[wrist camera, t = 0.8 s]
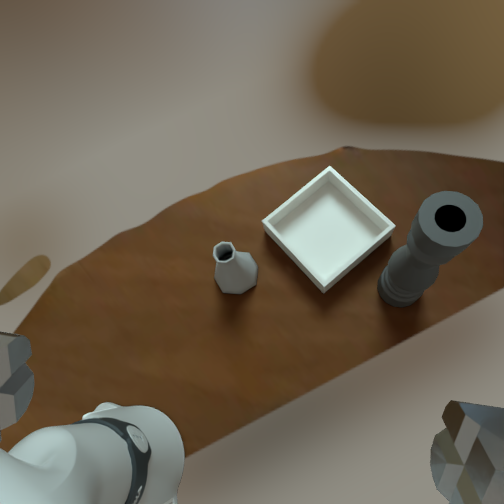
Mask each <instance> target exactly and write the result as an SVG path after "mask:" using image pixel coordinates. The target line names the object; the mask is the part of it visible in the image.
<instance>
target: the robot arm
mask: <svg viewBox="0 0 504 504" xmlns="http://www.w3.org/2000/svg"><path fill="white" fill-rule="evenodd" d="M31 355H32V353H31V347H30V340H29V339H27V338H26V337H25V336H23V335H18V334H12V333H6V332H0V441H1V430H2V429H4V428H6V427H8V426H10V425H12V424H14V423H16V422H17V421H18V420H19V419H20V417H21V416H22V415H23V414H24V412H25V411H26V409H27V407H28V405H29V402H30V400H31V398H32V395H33V389H34V374H33V372H32V371H31V370H30V368H29V367H28V366H27V365H26V363H25V362H26V361H27V360H28V358H29V357H30V356H31ZM442 419H443V421H444V423H445V425H446V427H447V428H445V429H444V430H442V431H441V432H440V433H438V434H436V435H435V438H434V441H433V444H432V447H431V461H430V463H431V464H430V465H431V471H432V476H433V479H434V482H435V485H436V488H437V490H438V491H439V492H440V493H441V494H442V495H443V496H444V497H445V498H446V499H447V500H448V501H449V504H504V408H500V407H493V406H487V405H479V404H472V403H466V402H459V401H452V400H451V401H450V402H449V403H448V404H447V406H446V407H445V410H444V412H443V415H442ZM183 469H184V447H183V443H182V439H181V436H180V434H179V432H178V430H177V428H176V426H175V425H174V423H173V422H172V421H171V420H170V419H169V418H168V417H167V416H166V415H165V414H163V413H162V412H160V411H159V410H157V409H154V408H151V407H147V406H130V407H122V406H119V405H116V404H114V403H110V402H106V403H102V404H100V405H99V406H98V407H97V408H96V409H95V410H94V412H91V413H87V414H85V415H84V416H83V419H82V420H80V421H78V422H75V423H73V424H70V425H63V426H53V427H46V428H42V429H39V430H37V431H35V432H33V433H31V434H29V435H28V436H26V437H25V438H24V439H22V440H21V441H20V442H19V443H17V444H16V445H15V446H14V447H13V448H12V449H11V450H10V451H9V452H8V453H7V452H5V451H4V450H2V449H0V504H177V491H178V487H179V484H180V481H181V478H182V474H183Z"/></svg>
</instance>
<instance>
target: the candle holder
mask: <svg viewBox="0 0 504 504" xmlns="http://www.w3.org/2000/svg"><path fill="white" fill-rule="evenodd" d="M482 227H483V215H482V213H481V211H480V209H479V207H478V205H477V204H476V203H475V202H474V201H473V200H472V199H470V198H469V197H468V196H465V195H463V194H461V193H458V192H452V191H443V192H439V193H435V194H432V195H431V196H430V197H428V198H427V199H426V200H424V202H423V204H422V205H421V207H420V209H419V211H418V213H417V214H416V216H415V218H414V220H413V222H412V226H411V230H410V232H409V234H408V235H407V245H405V246H402V247H400V248H399V249H398V250H396V251H395V252H394V253H393V254H392V256H391V258H390V260H389V262H388V266H386V267H385V268H384V270H383V272H382V274H381V276H380V278H379V280H378V287H377V289H378V292H379V294H380V296H381V298H382V299H383V300H384V301H385V302H386V303H388V304H390V305H392V306H394V307H406V306H410V305H411V304H413V303H414V302H415V301H416V300H417V299H418V298H419V297H421V296H422V294H423V292H424V290H426V289H427V288H428V287H430V286H431V285H432V284H433V283H434V282H435V280H436V278H437V276H438V273H439V265H442V264H446V263H447V262H448V261H450V260H451V259H452V258H454V256H456V255H458V254H459V253H461V252H462V251H463V250H465V249H466V248H467V247H468V246H469V245H470V244H471V243H472V242H473V241H474V240H475V239H476V238H477V237H478V235H479V233H480V231H481V229H482Z"/></svg>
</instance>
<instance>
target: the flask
mask: <svg viewBox="0 0 504 504" xmlns="http://www.w3.org/2000/svg"><path fill="white" fill-rule="evenodd" d="M213 256H214V258H215V260H216V261H217V262H216V269H215V276H214V278H215V280H216V282H217V284H218V285H219V287H220V289H221V291H222V292H223V293H232V294H242V293H244V292H245V291H247V290H248V289H250V288H252V287H253V286H255V285H256V284H257V275H258V266H257V264H256V263H255V261H254V259H253V258H252V256H251V255H250V253H246V252H237V251H236V250H235V248H234V247H233V245H232V243H231V242H221V243H219V244H218V245H216V246H214V251H213Z"/></svg>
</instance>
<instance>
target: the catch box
mask: <svg viewBox="0 0 504 504" xmlns="http://www.w3.org/2000/svg"><path fill="white" fill-rule="evenodd" d="M262 223H263V226H264V230H265V231H266V233H267V234H268V235H269V236H270V237H271V238H272V239H273V240H274V241H275V242H276V243H277V244H278V245H279V246H280V248H281V249H282V250H283V251H284V252H285V253H286V254H287V255H288V256H289V257H290V258H291V259H292V260H293V261H294V263H295V264H296V265H297V266H298V267H299V268H300V269H301V270H302V271H303V272H304V273H305V274H306V275H307V277H308V278H309V279H310V280H311V281H312V282H313V283H314V284H315V285H316V286H317V287H318V288H319V289H320V290H321V292H322V293H323V294H324V293H325V292H326V291H327V290H329V289H330V288H331V287H332V286H333V285H334V284H335V283H337V282H338V281H339V280H340V279H341V278H342V277H344V276H345V275H346V274H347V273H348V272H349V271H351V270H352V269H353V268H354V267H355V266H356V265H358V264H359V263H360V262H361V261H362V260H363V259H365V258H366V257H367V256H368V255H369V254H370V253H372V252H373V251H374V250H375V249H376V248H377V247H379V246H380V245H381V244H382V243H383V242H384V241H386V240H387V239H388V238H389V237H390V236H391V235H392V232H393V230H394V228H395V225H394V224H393V223H392V222H391V221H390V220H389V219H388V218H387V217H385V216H384V215H383V214H382V213H381V212H380V211H379V210H378V209H377V208H376V207H374V206H373V205H372V204H371V203H370V202H369V201H368V200H367V199H366V198H365V197H363V196H362V195H361V194H360V193H359V192H358V191H357V190H356V189H355V188H354V187H352V186H351V185H350V184H349V183H348V182H347V181H346V180H345V179H344V178H343V177H342V176H340V175H339V174H338V173H337V172H336V171H335V170H334V169H333V168H332V167H331V166H329V167H328V168H326V169H325V170H324V171H323V172H321V173H320V174H319V175H318V176H316V177H315V178H314V179H313V180H312V181H310V182H309V183H308V184H307V185H305V186H304V187H303V188H302V189H301V190H299V191H298V192H297V193H296V194H294V195H293V196H292V197H291V198H289V199H288V200H287V201H286V202H285V203H283V204H282V205H281V206H280V207H278V208H277V209H276V210H275V211H274V212H272V213H271V214H270V215H269V216H267V217H266V218H265V219H264V220H262Z"/></svg>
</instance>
